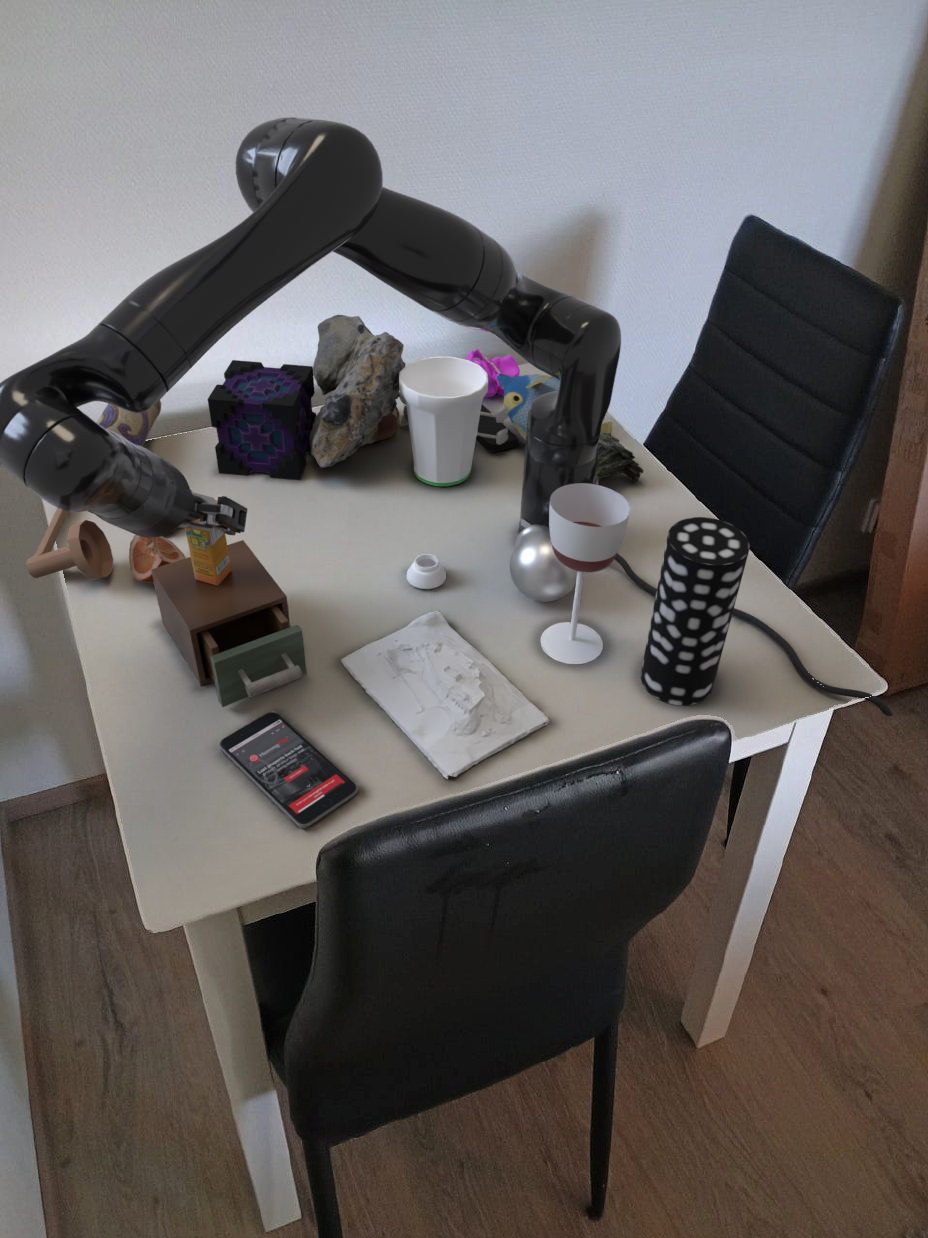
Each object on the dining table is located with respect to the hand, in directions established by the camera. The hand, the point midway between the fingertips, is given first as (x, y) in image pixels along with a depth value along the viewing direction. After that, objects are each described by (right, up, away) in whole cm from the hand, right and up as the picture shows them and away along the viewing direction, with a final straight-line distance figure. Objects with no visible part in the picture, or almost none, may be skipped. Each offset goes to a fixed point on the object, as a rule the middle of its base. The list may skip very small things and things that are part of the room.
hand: (195, 521), depth 108 cm
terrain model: (+26, -19, +6) cm, 33 cm away
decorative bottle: (-18, +22, +48) cm, 56 cm away
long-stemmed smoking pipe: (-20, 0, +27) cm, 34 cm away
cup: (+26, +11, +40) cm, 49 cm away
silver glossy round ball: (+42, -8, +16) cm, 46 cm away
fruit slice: (-10, -5, +20) cm, 23 cm away
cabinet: (+1, -13, +12) cm, 17 cm away
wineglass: (+42, -13, +13) cm, 46 cm away
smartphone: (+11, -26, -4) cm, 29 cm away
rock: (+19, +20, +39) cm, 47 cm away
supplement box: (0, -6, +7) cm, 9 cm away
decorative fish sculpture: (+44, +28, +49) cm, 71 cm away
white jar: (+24, -6, +21) cm, 32 cm away
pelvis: (+33, +33, +55) cm, 72 cm away
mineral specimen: (+49, +13, +34) cm, 61 cm away
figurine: (+36, +18, +42) cm, 58 cm away
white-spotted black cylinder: (+54, -18, +8) cm, 57 cm away
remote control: (+32, +19, +50) cm, 62 cm away
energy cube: (0, +14, +43) cm, 45 cm away
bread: (+13, +19, +49) cm, 55 cm away
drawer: (+5, -16, +6) cm, 18 cm away
